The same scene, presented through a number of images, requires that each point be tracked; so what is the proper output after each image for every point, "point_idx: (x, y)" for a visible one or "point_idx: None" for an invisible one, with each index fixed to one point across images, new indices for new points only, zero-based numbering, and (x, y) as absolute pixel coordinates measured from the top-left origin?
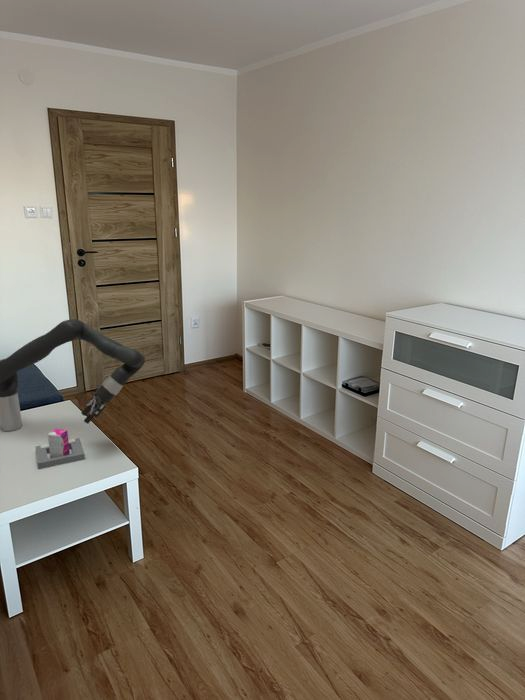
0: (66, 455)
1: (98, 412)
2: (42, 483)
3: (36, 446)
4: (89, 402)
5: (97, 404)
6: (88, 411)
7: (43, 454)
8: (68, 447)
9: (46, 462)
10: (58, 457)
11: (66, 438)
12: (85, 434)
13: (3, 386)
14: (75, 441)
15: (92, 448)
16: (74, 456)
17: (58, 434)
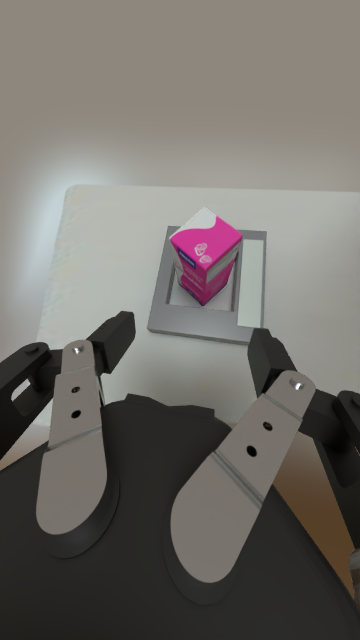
0: (166, 286)
1: (25, 412)
2: (107, 236)
3: (264, 233)
4: (275, 404)
5: (14, 463)
6: (254, 377)
7: None
8: (200, 296)
9: (165, 243)
10: (168, 268)
11: (195, 277)
12: (314, 379)
13: None
14: (237, 325)
15: (200, 367)
16: (152, 303)
17: (181, 235)
